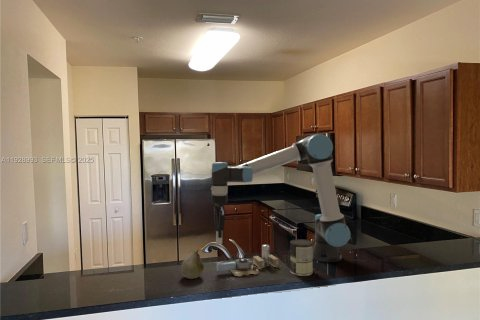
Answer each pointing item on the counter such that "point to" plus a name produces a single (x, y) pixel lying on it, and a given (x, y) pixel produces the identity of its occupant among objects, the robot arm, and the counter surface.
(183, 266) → the fruit
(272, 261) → the slot rails
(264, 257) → the pin
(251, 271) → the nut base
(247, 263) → the grey metal pan
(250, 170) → the robot arm
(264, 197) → the counter surface
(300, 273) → the coffee can
